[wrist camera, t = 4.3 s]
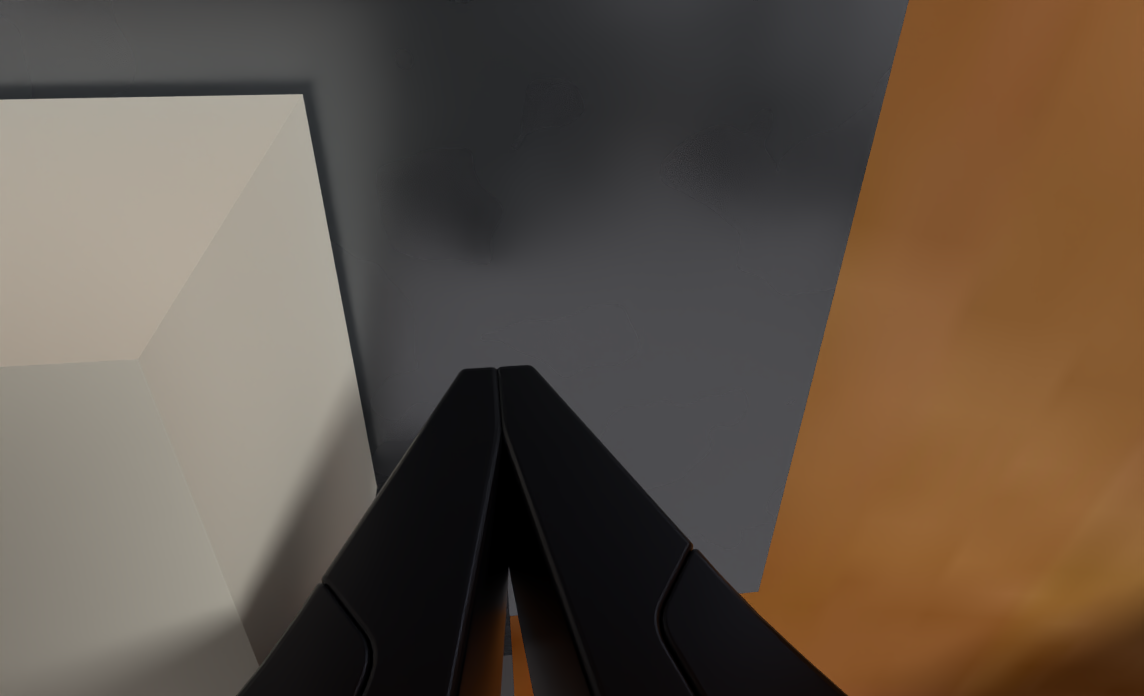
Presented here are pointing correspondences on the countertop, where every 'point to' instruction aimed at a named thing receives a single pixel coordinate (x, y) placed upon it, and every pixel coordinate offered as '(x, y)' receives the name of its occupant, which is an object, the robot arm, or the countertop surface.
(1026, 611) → the countertop surface
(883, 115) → the countertop surface
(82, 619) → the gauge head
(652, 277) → the gauge bench
